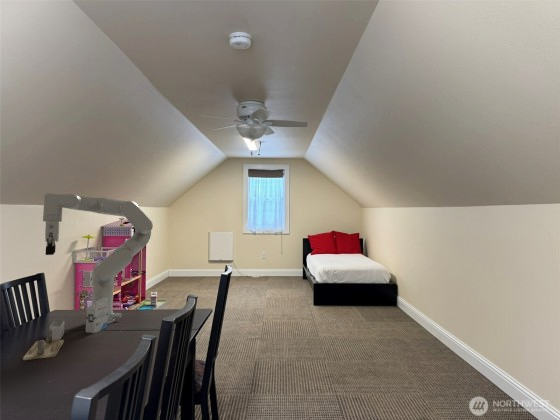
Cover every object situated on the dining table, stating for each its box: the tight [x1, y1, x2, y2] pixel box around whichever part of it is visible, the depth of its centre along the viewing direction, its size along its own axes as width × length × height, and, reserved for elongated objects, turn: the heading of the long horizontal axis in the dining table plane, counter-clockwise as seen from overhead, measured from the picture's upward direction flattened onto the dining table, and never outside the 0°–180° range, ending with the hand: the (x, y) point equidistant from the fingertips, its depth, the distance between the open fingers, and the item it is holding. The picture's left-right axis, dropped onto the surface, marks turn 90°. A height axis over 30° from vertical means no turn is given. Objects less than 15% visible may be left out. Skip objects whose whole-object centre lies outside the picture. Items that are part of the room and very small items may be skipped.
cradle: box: [22, 328, 65, 361], centre depth 130 cm, size 10×16×6 cm, turn 24°
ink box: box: [85, 298, 108, 334], centre depth 156 cm, size 9×5×15 cm, turn 168°
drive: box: [49, 320, 65, 341], centre depth 145 cm, size 4×8×6 cm, turn 24°
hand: (50, 253), depth 158 cm, fingers open, 9 cm apart
